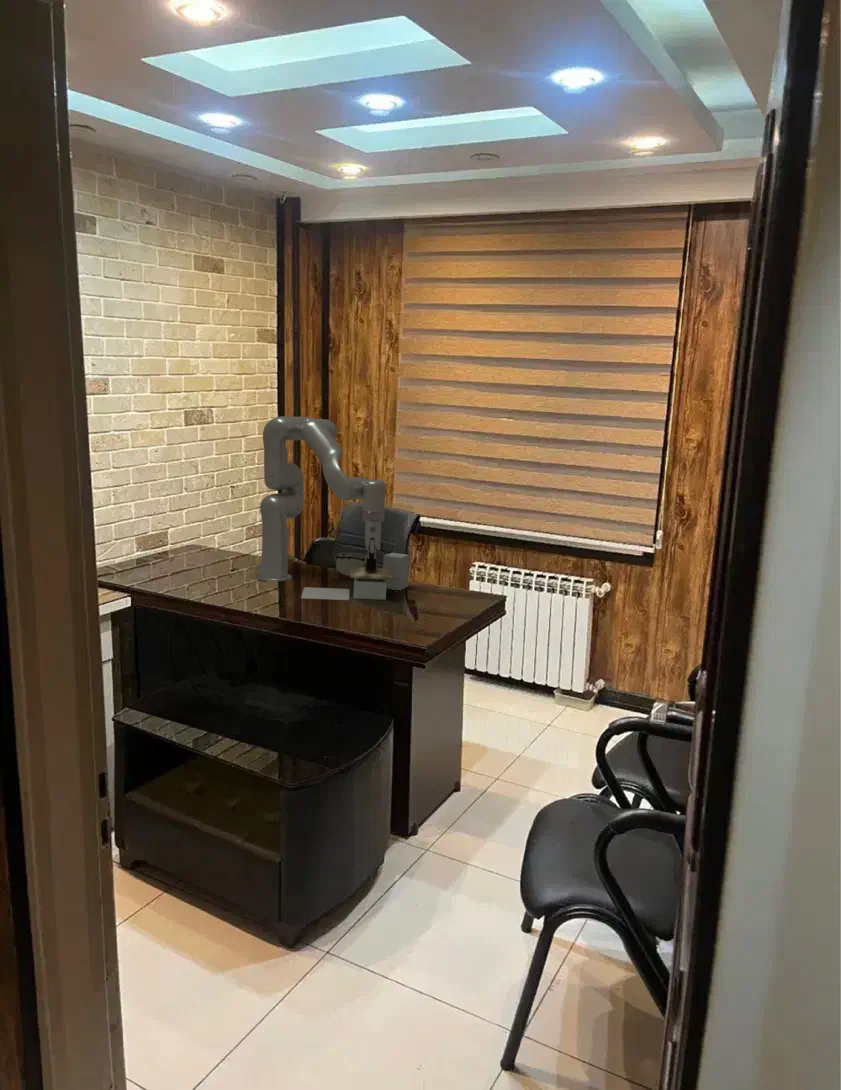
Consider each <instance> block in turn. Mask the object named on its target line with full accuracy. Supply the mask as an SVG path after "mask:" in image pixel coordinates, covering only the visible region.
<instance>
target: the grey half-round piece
mask: <svg viewBox="0 0 841 1090" xmlns="http://www.w3.org/2000/svg"><path fill="white" fill-rule="evenodd" d="M365 559H366V554H363V553H360V552H359V553H358V552H357V553H356V552H338V553H336V554H335V555H334V558H333V560H334V561H335V570H336V581H348V580H354V578H350V570H351V567H364V568H365Z"/></svg>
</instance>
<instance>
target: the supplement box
mask: <svg viewBox="0 0 841 1090" xmlns="http://www.w3.org/2000/svg"><path fill="white" fill-rule="evenodd" d="M382 557H383V561H382V562H383V563H382V564H383V565H382V568H390V570H391V576H392V579H386V582H387V585H386V590H387V589H388V590H389V589H392V590H402V589H404V588H406V587H409V573H410V572H409V570H410V555H409V554H404V553H399V552H398V553H397V552H390V553H387V554H385V555H383V556H382ZM392 590H391V591H392Z"/></svg>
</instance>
